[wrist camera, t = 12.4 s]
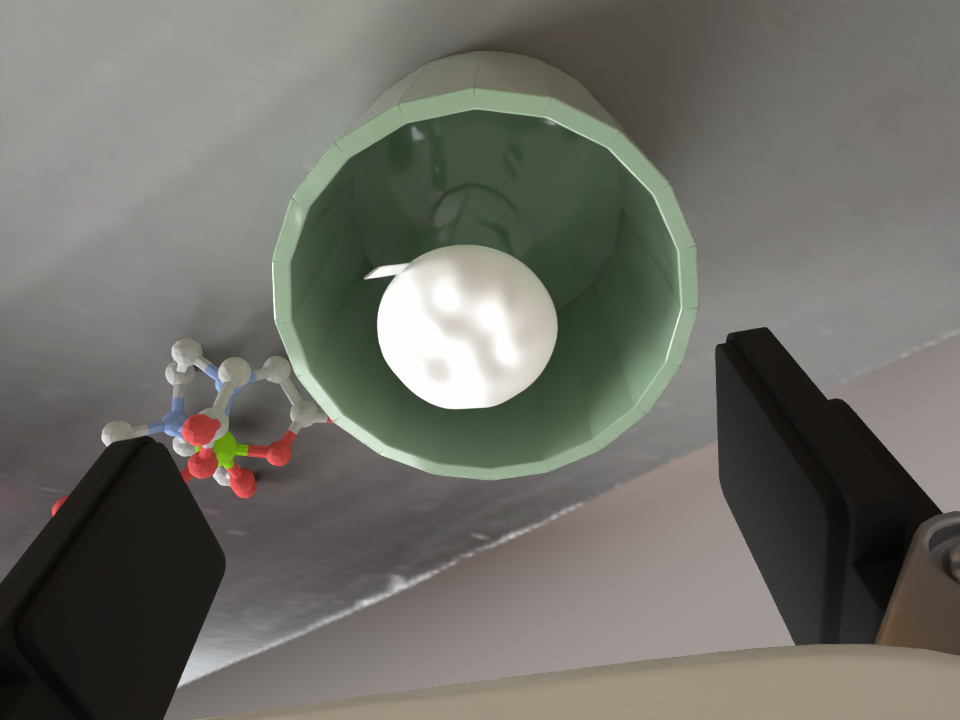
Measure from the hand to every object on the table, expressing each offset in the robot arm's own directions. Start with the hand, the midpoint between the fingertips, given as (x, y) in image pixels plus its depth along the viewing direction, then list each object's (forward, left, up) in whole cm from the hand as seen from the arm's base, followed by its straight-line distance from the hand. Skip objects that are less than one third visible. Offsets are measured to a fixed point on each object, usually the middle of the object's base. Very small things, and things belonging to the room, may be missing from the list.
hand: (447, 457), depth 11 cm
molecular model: (+7, -11, -15) cm, 20 cm away
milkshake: (0, 0, -14) cm, 14 cm away
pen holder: (0, +1, -15) cm, 15 cm away
